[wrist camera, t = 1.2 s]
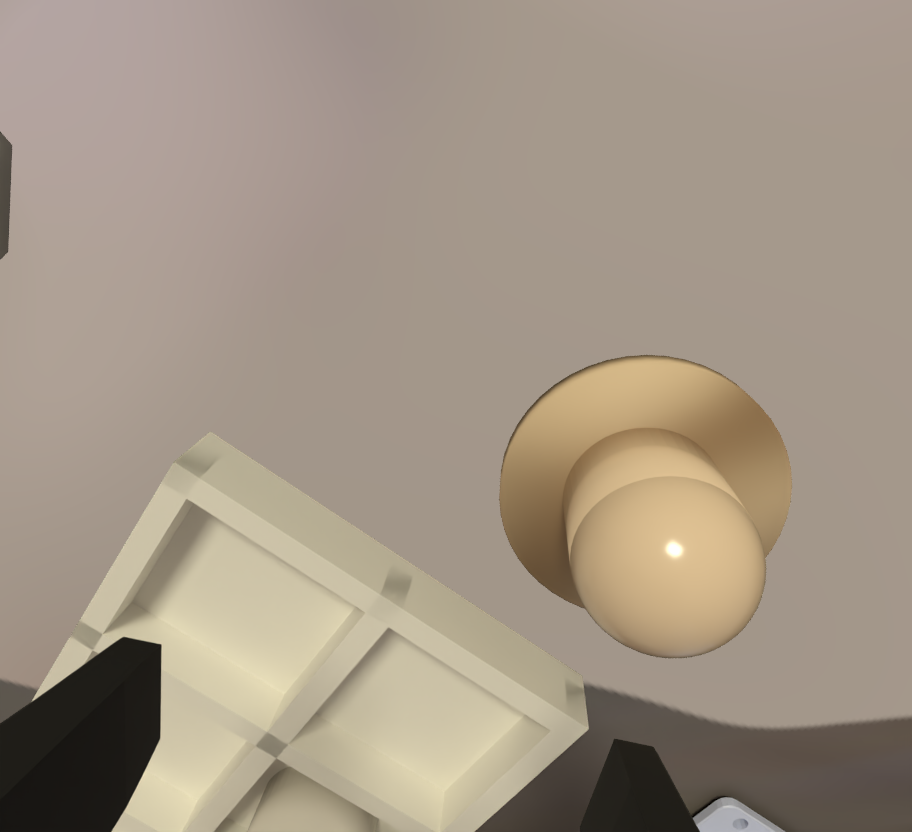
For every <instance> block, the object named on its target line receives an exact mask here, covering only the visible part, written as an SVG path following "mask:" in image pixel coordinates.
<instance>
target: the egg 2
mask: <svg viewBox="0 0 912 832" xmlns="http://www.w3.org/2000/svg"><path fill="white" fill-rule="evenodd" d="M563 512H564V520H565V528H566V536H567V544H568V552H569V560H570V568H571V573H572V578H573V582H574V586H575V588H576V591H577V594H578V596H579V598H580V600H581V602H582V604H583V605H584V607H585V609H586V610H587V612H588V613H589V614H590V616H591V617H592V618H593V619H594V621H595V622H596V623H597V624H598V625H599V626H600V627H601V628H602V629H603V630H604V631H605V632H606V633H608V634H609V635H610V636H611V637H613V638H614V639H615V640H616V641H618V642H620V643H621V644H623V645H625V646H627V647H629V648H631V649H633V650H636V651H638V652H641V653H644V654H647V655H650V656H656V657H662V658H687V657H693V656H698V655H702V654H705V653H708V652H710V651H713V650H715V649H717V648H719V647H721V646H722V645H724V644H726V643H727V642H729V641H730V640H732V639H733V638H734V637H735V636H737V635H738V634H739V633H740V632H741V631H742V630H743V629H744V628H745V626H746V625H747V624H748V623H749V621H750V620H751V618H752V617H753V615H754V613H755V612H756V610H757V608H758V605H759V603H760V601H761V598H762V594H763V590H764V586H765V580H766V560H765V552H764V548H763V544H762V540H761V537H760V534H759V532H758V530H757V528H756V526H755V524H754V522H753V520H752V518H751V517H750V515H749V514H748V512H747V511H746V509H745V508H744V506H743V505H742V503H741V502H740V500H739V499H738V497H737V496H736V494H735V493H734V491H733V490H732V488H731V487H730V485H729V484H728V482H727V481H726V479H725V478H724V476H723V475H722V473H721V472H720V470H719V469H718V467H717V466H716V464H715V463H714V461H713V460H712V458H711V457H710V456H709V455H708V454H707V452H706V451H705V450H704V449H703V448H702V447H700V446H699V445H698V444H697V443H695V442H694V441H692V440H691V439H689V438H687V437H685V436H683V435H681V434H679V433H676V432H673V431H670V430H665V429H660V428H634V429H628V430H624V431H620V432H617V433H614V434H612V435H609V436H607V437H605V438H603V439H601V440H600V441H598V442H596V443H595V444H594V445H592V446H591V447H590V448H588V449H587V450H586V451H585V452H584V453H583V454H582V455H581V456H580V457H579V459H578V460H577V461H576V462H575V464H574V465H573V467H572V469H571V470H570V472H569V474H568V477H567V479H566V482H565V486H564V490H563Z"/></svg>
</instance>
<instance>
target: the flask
mask: <svg viewBox="0 0 912 832" xmlns="http://www.w3.org/2000/svg"><path fill="white" fill-rule="evenodd" d="M11 160H12V145H11V144H10V142H9V141H8V140H7V139H6V138H5V137H4V136H3V135H2V133H1V132H0V259H1V258H2V257H3V256H4V255H5V254H6V253H7V252H8V237H9V213H10V185H11Z"/></svg>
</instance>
